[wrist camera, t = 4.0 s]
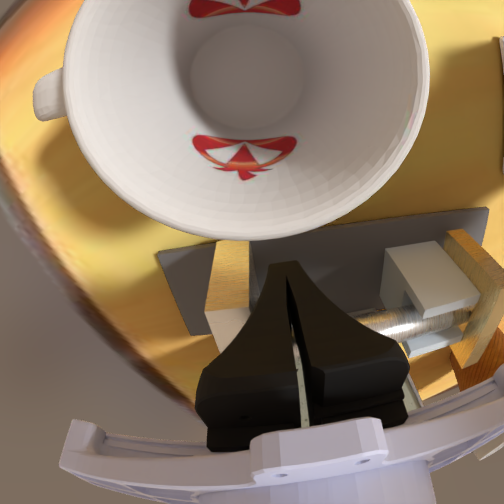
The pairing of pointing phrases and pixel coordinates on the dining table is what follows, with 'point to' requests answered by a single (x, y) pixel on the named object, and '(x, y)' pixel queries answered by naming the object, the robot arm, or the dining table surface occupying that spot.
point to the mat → (319, 259)
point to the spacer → (490, 301)
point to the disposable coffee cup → (493, 357)
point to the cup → (242, 107)
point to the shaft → (243, 302)
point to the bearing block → (426, 289)
